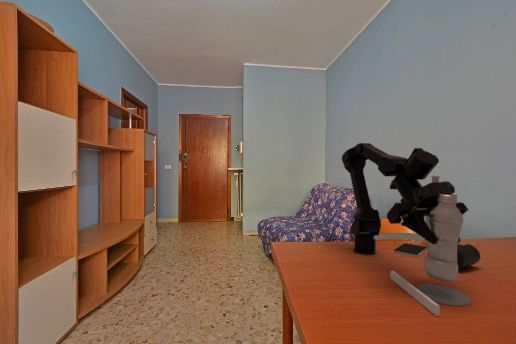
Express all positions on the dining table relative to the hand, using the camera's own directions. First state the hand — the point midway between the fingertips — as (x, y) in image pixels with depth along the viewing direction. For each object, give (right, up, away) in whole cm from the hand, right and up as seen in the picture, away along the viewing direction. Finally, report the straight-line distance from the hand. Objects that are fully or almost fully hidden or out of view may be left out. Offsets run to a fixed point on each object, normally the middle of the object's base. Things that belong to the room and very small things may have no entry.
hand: (446, 242), depth 57 cm
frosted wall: (-7, -12, +1) cm, 15 cm away
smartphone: (+14, -14, +36) cm, 41 cm away
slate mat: (0, -13, +1) cm, 13 cm away
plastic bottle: (-1, -9, +1) cm, 9 cm away
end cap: (+18, -13, +19) cm, 29 cm away
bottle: (+27, -13, +42) cm, 52 cm away
